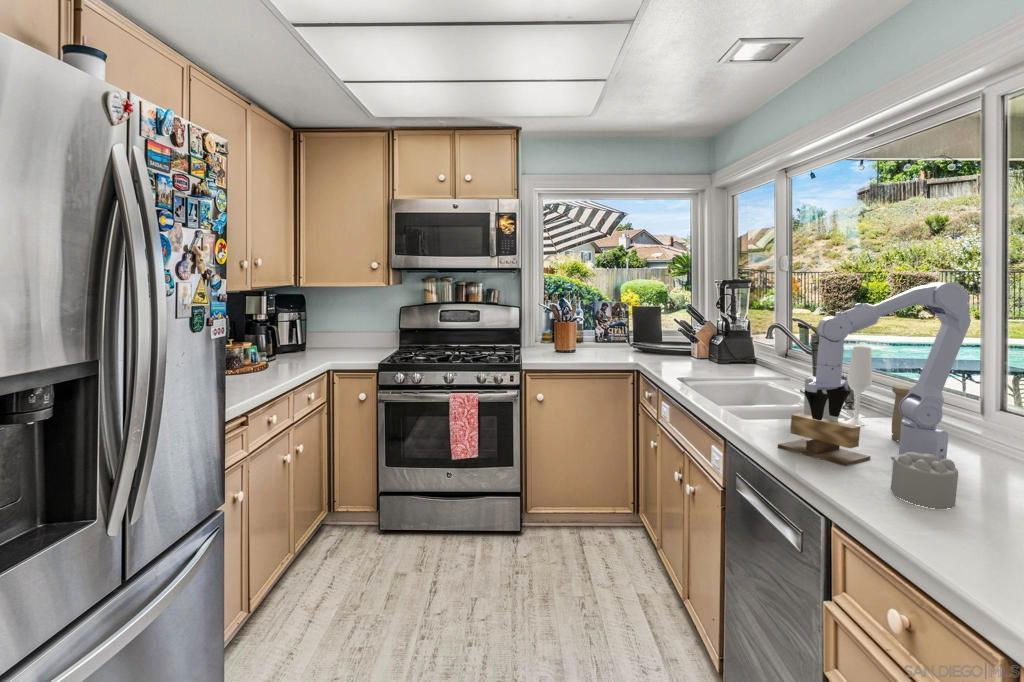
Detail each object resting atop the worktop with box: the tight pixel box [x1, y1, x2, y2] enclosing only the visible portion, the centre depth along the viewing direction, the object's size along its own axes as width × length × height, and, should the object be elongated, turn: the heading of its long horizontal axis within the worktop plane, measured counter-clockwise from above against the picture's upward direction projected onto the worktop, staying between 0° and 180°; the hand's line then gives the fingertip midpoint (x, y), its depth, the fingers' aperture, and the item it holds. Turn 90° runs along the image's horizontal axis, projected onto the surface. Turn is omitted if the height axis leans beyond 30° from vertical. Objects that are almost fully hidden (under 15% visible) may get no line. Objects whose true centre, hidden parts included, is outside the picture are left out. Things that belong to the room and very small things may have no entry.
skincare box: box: [803, 375, 839, 422], centre depth 185 cm, size 8×6×15 cm
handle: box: [891, 384, 913, 441], centre depth 171 cm, size 5×6×15 cm
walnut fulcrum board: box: [777, 438, 871, 467], centre depth 157 cm, size 18×11×4 cm, turn 33°
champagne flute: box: [843, 345, 873, 425], centre depth 189 cm, size 7×7×24 cm
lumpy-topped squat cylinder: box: [890, 452, 959, 509], centre depth 125 cm, size 10×13×9 cm
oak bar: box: [789, 412, 861, 449], centre depth 156 cm, size 16×4×5 cm, turn 33°
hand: (825, 417), depth 156 cm, fingers open, 7 cm apart
